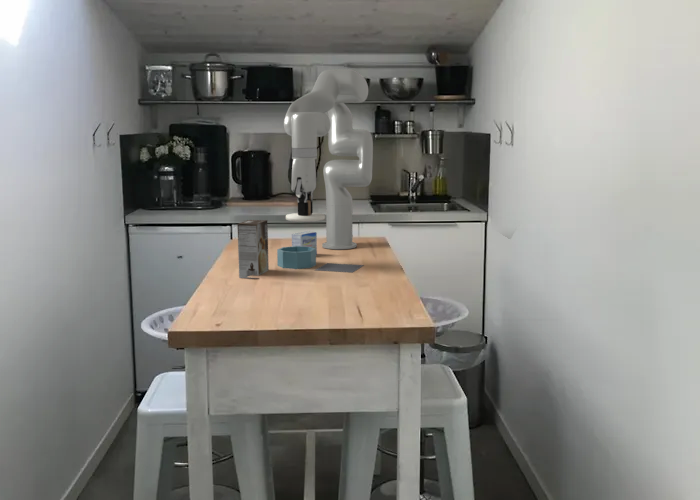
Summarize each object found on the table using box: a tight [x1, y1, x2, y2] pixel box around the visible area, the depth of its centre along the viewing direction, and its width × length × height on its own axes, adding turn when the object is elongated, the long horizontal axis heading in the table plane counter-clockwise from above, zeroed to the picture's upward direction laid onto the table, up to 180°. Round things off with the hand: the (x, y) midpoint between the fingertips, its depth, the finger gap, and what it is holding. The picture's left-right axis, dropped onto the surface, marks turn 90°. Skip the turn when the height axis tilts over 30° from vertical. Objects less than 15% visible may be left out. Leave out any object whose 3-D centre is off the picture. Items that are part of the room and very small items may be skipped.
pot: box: [276, 245, 317, 270], centre depth 224 cm, size 11×11×6 cm
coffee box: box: [236, 219, 270, 280], centre depth 212 cm, size 9×6×16 cm
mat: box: [315, 262, 365, 274], centre depth 220 cm, size 12×12×1 cm
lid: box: [285, 200, 326, 223], centre depth 220 cm, size 12×12×6 cm
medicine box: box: [291, 230, 318, 256], centre depth 241 cm, size 8×4×9 cm, turn 143°
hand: (305, 214), depth 221 cm, fingers closed on lid, 3 cm apart
